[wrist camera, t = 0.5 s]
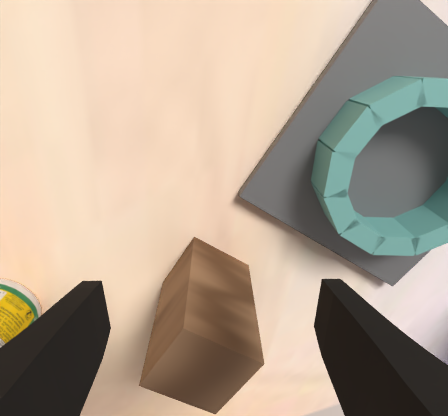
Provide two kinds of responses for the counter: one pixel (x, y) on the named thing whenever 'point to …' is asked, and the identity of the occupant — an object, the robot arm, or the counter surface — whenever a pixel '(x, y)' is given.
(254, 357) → the walnut peg
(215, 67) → the counter surface
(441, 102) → the collar
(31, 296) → the supplement bottle
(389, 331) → the robot arm
